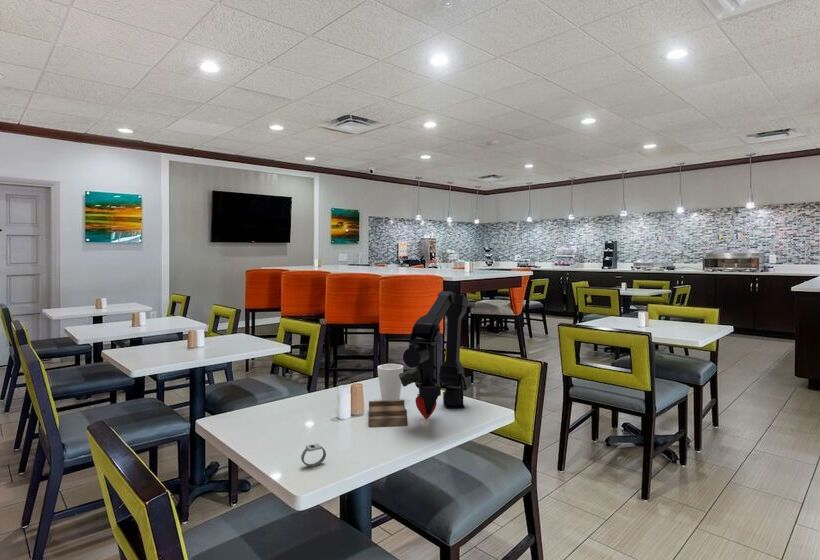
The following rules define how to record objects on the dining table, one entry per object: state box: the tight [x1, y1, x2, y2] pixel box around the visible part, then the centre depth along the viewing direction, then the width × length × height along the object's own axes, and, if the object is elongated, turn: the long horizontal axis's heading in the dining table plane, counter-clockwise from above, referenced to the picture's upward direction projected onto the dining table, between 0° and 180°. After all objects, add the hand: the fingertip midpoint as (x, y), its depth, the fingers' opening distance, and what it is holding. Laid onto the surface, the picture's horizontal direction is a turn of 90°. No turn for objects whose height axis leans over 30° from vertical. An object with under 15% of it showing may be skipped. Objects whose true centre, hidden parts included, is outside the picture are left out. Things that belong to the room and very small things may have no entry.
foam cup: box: [377, 363, 404, 401], centre depth 172 cm, size 10×9×13 cm
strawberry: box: [415, 393, 437, 420], centre depth 147 cm, size 6×8×10 cm
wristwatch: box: [300, 443, 327, 468], centre depth 119 cm, size 6×3×5 cm, turn 121°
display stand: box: [368, 399, 408, 428], centre depth 155 cm, size 12×16×4 cm
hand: (426, 410), depth 147 cm, fingers closed on strawberry, 7 cm apart
